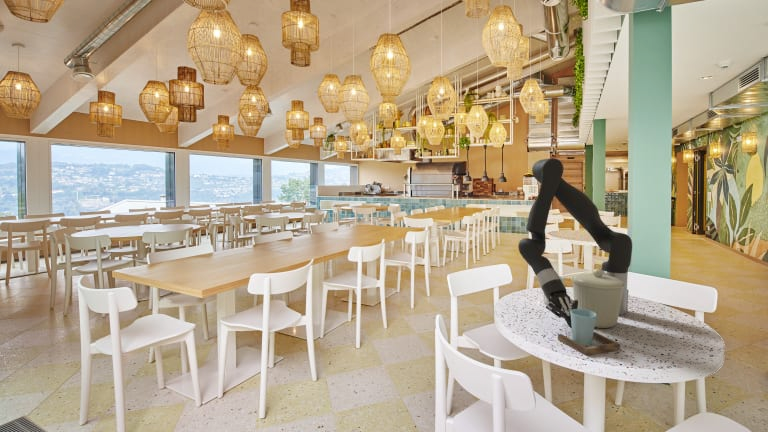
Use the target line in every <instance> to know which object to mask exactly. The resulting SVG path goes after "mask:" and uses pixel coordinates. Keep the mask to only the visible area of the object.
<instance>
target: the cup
mask: <svg viewBox="0 0 768 432" xmlns="http://www.w3.org/2000/svg"><path fill="white" fill-rule="evenodd" d="M570 313H571V325H572V329H571V335H572V336H571V337H572V340H574V341H576V342H577V343H579V344H581V345H583V346H585V347H591V346H592V344H593V343H592V342H593V332H595V331H594V330H595V328H596V327H595V321H596V313H594V312H592V311H589V310H584V309H573V310H571V311H570Z"/></svg>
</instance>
